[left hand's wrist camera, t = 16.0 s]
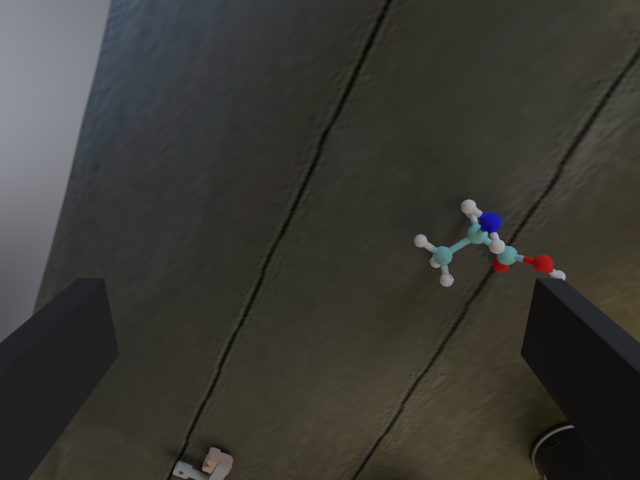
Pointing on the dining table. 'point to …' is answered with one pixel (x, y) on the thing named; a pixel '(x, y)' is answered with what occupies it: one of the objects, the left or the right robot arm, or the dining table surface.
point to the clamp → (207, 467)
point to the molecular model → (479, 235)
